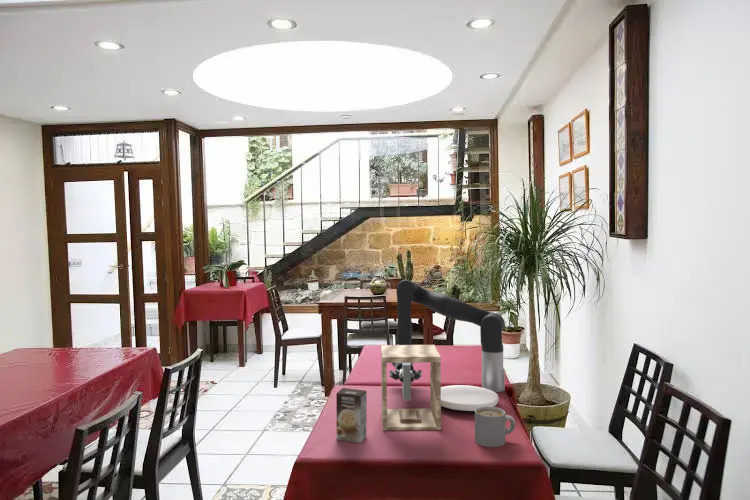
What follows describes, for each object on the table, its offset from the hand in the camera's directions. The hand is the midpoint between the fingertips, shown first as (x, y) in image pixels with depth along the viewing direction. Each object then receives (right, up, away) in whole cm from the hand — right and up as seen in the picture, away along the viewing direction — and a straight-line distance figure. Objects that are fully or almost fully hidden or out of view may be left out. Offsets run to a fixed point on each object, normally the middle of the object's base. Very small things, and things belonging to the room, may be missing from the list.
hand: (407, 380), depth 208 cm
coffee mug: (+27, -13, -32) cm, 44 cm away
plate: (+24, -11, +5) cm, 27 cm away
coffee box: (-21, -13, -28) cm, 37 cm away
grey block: (0, -8, +3) cm, 9 cm away
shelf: (0, -12, -12) cm, 17 cm away
